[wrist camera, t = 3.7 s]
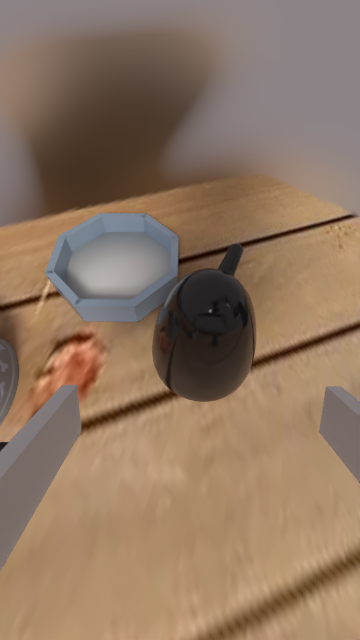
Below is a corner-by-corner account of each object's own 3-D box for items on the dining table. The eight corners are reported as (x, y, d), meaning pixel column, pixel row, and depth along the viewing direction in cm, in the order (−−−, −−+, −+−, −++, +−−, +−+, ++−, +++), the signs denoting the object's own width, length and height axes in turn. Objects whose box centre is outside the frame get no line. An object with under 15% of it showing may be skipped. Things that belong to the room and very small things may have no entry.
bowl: (129, 217, 43) (126, 199, 40) (202, 272, 37) (204, 254, 34) (38, 270, 37) (26, 253, 34) (107, 346, 31) (98, 332, 28)
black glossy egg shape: (255, 345, 31) (309, 255, 18) (223, 427, 26) (265, 384, 13) (181, 314, 33) (181, 213, 20) (139, 383, 29) (105, 310, 16)
